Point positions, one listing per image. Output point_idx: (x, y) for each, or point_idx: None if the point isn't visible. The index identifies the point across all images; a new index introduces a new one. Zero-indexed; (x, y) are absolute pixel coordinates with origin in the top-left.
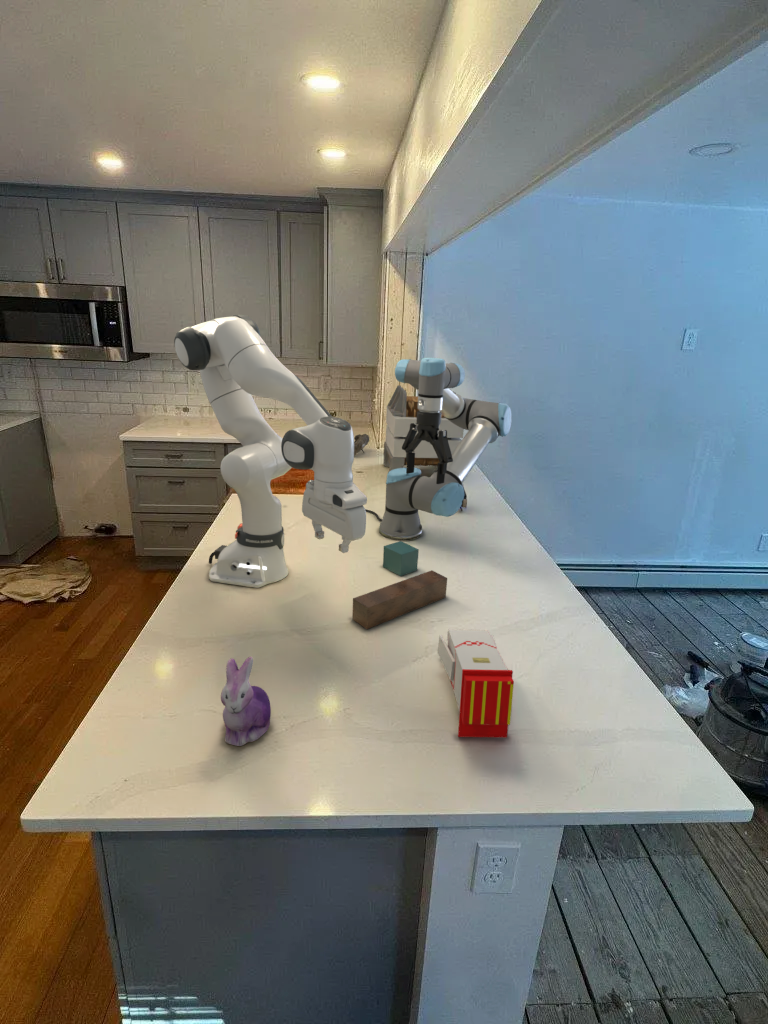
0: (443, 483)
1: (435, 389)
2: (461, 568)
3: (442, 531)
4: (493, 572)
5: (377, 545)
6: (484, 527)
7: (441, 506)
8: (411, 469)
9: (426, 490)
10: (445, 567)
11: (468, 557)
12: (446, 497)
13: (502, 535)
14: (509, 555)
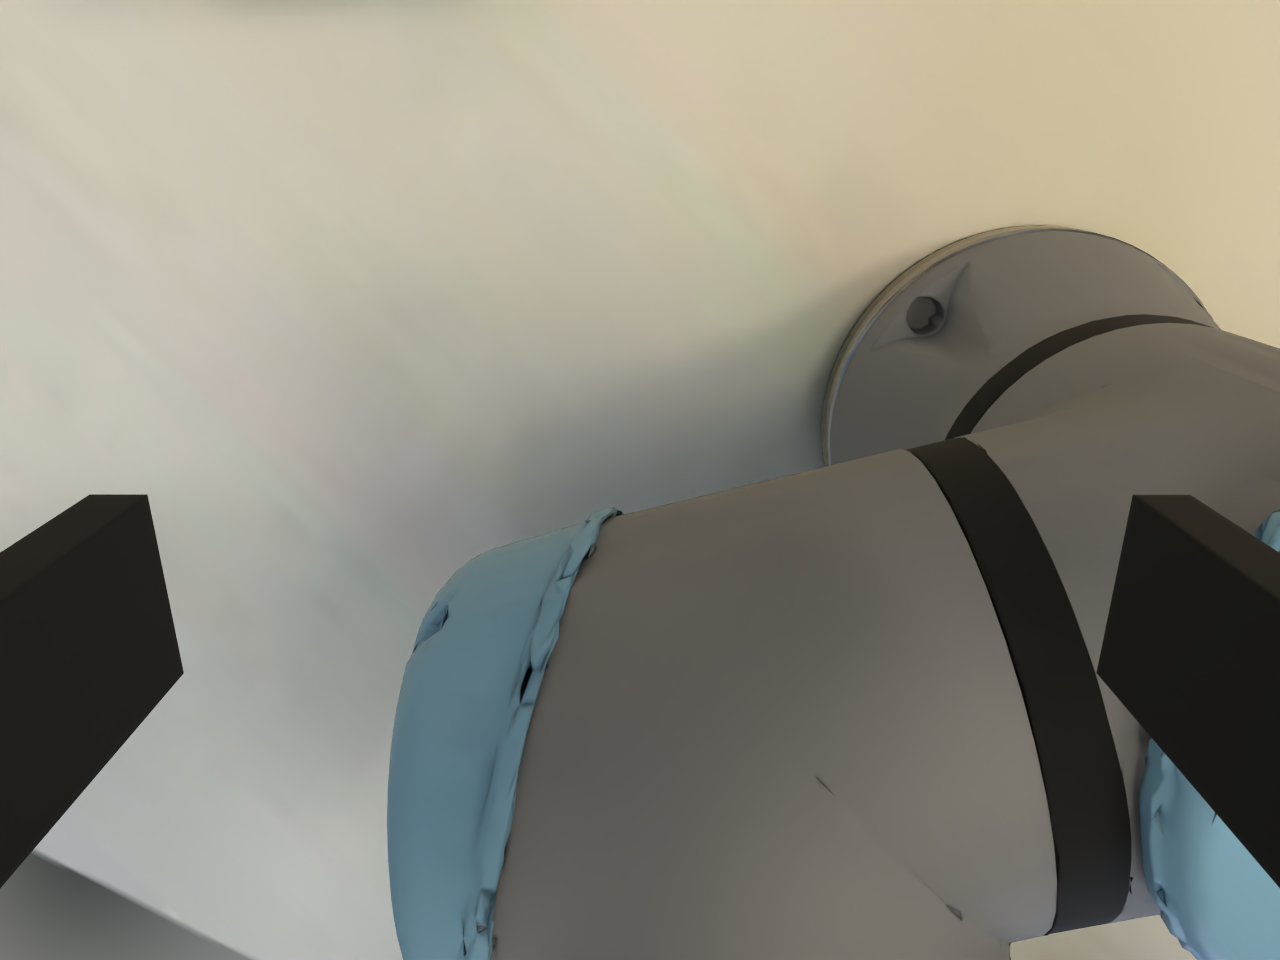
0: (568, 867)
1: None
2: (181, 309)
3: None
4: (20, 454)
5: (943, 31)
6: None
7: (462, 566)
8: (1155, 643)
9: (734, 607)
10: (255, 215)
11: (316, 501)
12: (404, 674)
13: None
14: (203, 746)
